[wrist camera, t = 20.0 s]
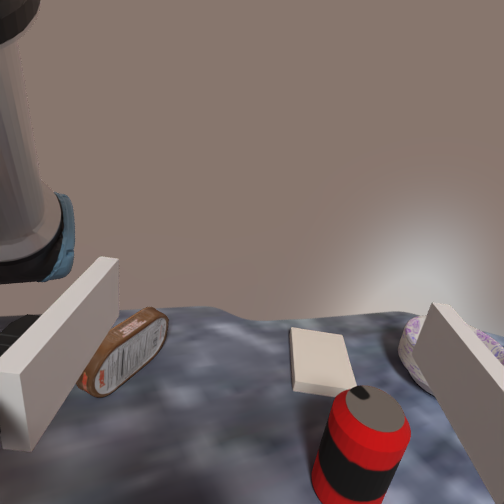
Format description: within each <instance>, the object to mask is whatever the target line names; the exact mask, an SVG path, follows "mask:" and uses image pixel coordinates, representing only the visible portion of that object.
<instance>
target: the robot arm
mask: <svg viewBox="0 0 504 504" xmlns="http://www.w3.org/2000/svg"><path fill="white" fill-rule="evenodd" d="M40 2H41V0H0V284H9V283H10V284H11V283H23V282H35V281H37V282H46V281H48V280H54V279H60V278H63V277H65V276H67V275H68V274H69V273H70V271H71V268H72V265H73V260H74V250H73V249H74V245H75V223H74V212H73V206H72V203H71V200H70V199H69V197H68V196H67V195H65V194H58V193H56V192H53V191H52V189H50V187H49V186H48V185H46V184H45V183H44V182H43V181H42V180H41V176H40V170H39V164H38V158H37V152H36V146H35V140H34V135H33V128H32V122H31V117H30V111H29V105H28V99H27V93H26V88H25V81H24V75H23V69H22V63H21V58H20V52H19V46H18V39H19V38H21V37H22V36H24V35H25V33H26V32H27V31H28V30H29V29H30V28H31V27H32V25H33V24H34V22H35V20H36V19H37V16H38V13H39V11H40ZM118 316H119V259H116V258H109V257H102V256H100V257H99V258H98V259H97V260H96V261H95V262H94V263H93V264H92V265H91V266H90V267H89V268H88V269H87V270H86V271H85V272H84V273H83V274H82V275H81V276H80V277H79V278H78V279H77V280H76V281H75V282H74V283H73V284H72V285H71V286H70V287H69V288H68V289H67V290H66V291H65V292H64V293H63V294H62V295H61V296H60V297H59V298H58V299H57V300H56V301H55V302H54V303H53V304H52V305H51V306H50V307H49V309H47V310H46V311H45V312H44V313H43V314H42V315H41V316H36V315H28V314H27V315H25V316H24V317H22V318H20V319H18V320H16V321H14V322H12V323H11V324H9V325H8V326H7V327H6V328H5V329H4V330H3V331H2V332H1V333H0V437H1V442H2V448H3V449H7V450H16V451H24V452H32V450H33V449H34V447H35V446H36V444H37V443H38V441H39V440H40V438H41V436H42V435H43V433H44V432H45V430H46V429H47V427H48V426H49V424H50V422H51V421H52V419H53V418H54V416H55V415H56V413H57V411H58V410H59V408H60V407H61V405H62V404H63V402H64V401H65V399H66V397H67V396H68V394H69V393H70V391H71V390H72V388H73V387H74V385H75V383H76V382H77V380H78V379H79V377H80V376H81V374H82V372H83V371H84V369H85V368H86V366H87V365H88V363H89V362H90V360H91V358H92V357H93V355H94V354H95V352H96V351H97V349H98V348H99V346H100V344H101V343H102V341H103V340H104V338H105V337H106V335H107V334H108V332H109V330H110V329H111V327H112V326H113V324H114V323H115V321H116V319H117V318H118ZM411 355H412V357H413V358H414V360H415V362H416V364H417V365H418V367H419V369H420V371H421V373H422V374H423V376H424V378H425V380H426V381H427V383H428V385H429V387H430V388H431V390H432V392H433V394H434V396H435V397H436V399H437V401H438V403H439V404H440V406H441V408H442V410H443V411H444V413H445V415H446V417H447V419H448V420H449V422H450V424H451V426H452V427H453V429H454V431H455V433H456V434H457V436H458V438H459V440H460V442H461V443H462V445H463V447H464V449H465V450H466V452H467V454H468V456H469V457H470V459H471V461H472V463H473V465H474V466H475V468H476V470H477V472H478V473H479V475H480V477H481V479H482V481H483V482H484V484H485V486H486V488H487V489H488V491H489V493H490V495H491V496H492V498H493V500H494V502H495V504H504V366H503V365H502V364H501V363H500V362H499V360H498V359H497V358H496V357H495V356H494V355H493V354H492V352H491V351H490V350H489V349H488V348H487V347H486V346H485V344H484V343H483V342H482V341H481V340H480V339H479V338H478V336H477V335H476V334H475V333H474V332H473V331H472V330H471V328H470V327H469V326H468V325H467V324H466V323H465V322H464V320H463V319H462V318H461V317H460V316H459V315H458V314H457V312H456V311H455V310H454V309H453V308H452V307H451V306H450V305H447V304H440V303H433V302H432V304H431V306H430V309H429V311H428V314H427V316H426V319H425V321H424V324H423V326H422V329H421V331H420V334H419V336H418V339H417V341H416V344H415V346H414V349H413V351H412V354H411Z"/></svg>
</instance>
